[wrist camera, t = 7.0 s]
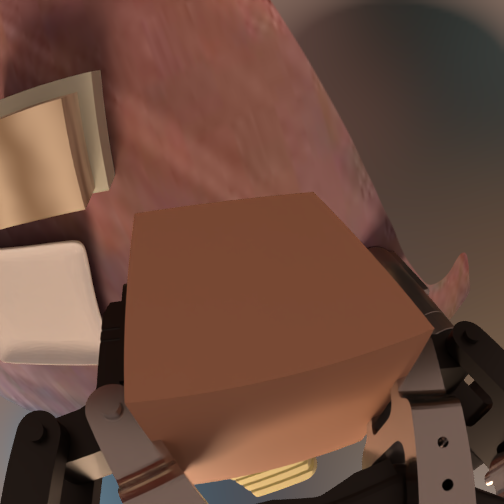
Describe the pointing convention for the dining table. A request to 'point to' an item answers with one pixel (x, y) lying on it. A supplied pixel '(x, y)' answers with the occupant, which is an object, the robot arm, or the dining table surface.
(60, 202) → the top block
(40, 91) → the base block
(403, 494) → the robot arm
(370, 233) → the dining table surface
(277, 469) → the slatted curved stool
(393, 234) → the dining table surface
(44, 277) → the salad plate
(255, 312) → the cube
